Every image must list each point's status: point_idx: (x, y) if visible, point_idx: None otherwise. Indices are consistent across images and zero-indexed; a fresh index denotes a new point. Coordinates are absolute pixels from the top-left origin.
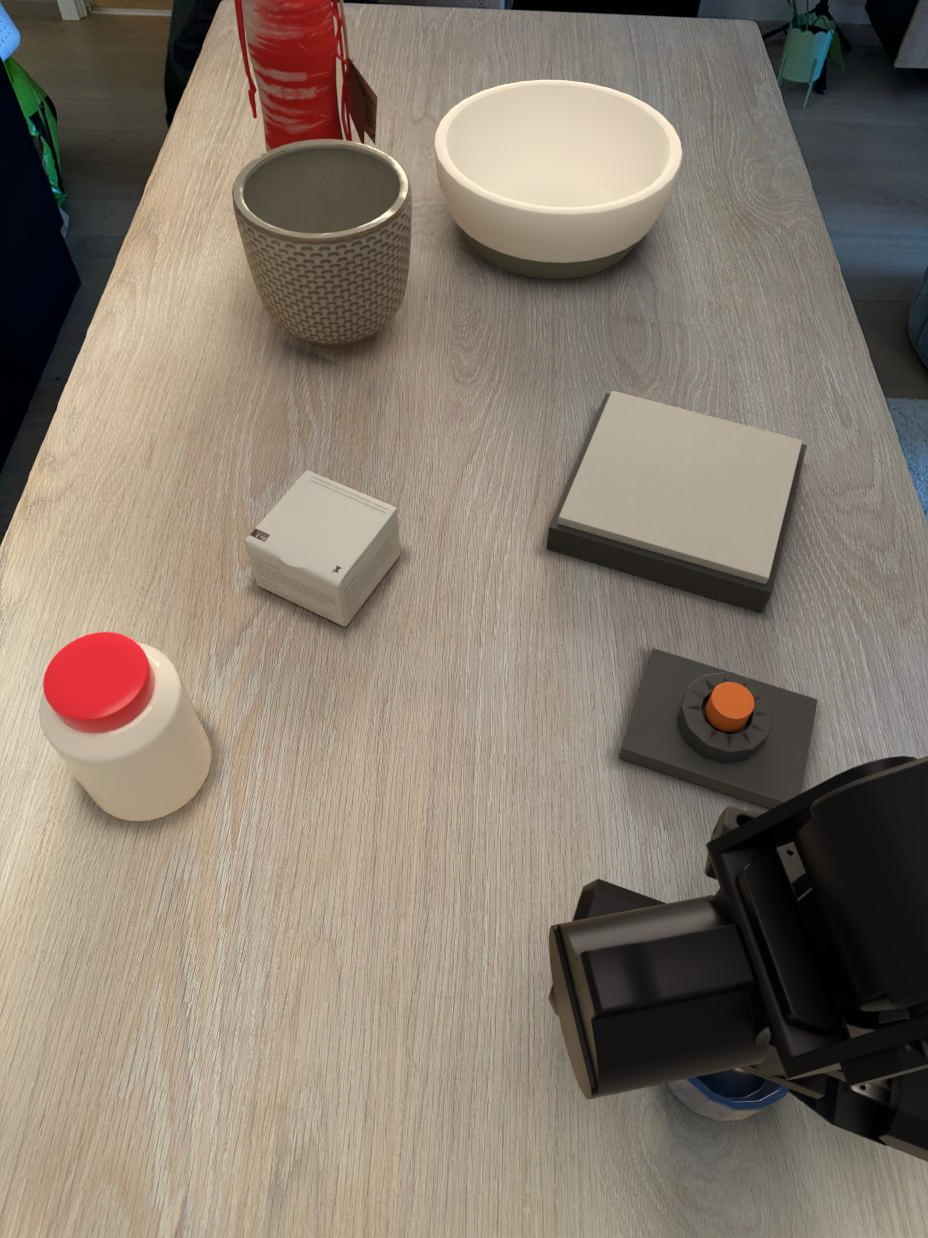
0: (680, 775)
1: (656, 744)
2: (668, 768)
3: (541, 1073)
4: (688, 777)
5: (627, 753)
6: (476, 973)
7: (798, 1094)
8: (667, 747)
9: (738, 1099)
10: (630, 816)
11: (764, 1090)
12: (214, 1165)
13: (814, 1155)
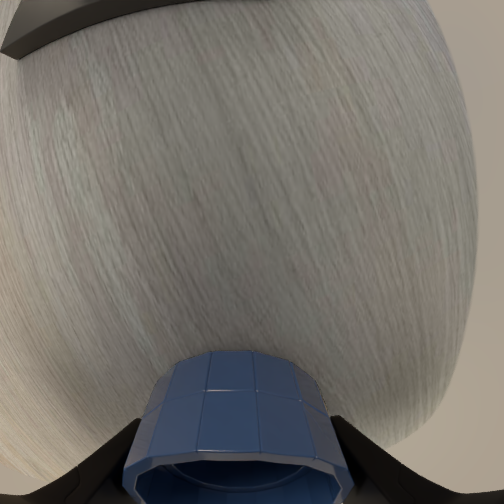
0: (79, 23)
1: (36, 14)
2: (57, 26)
3: (88, 441)
4: (88, 17)
5: (10, 50)
6: (5, 375)
7: (344, 501)
8: (49, 6)
9: (269, 484)
10: (28, 120)
11: (301, 472)
12: (17, 461)
13: (361, 432)
